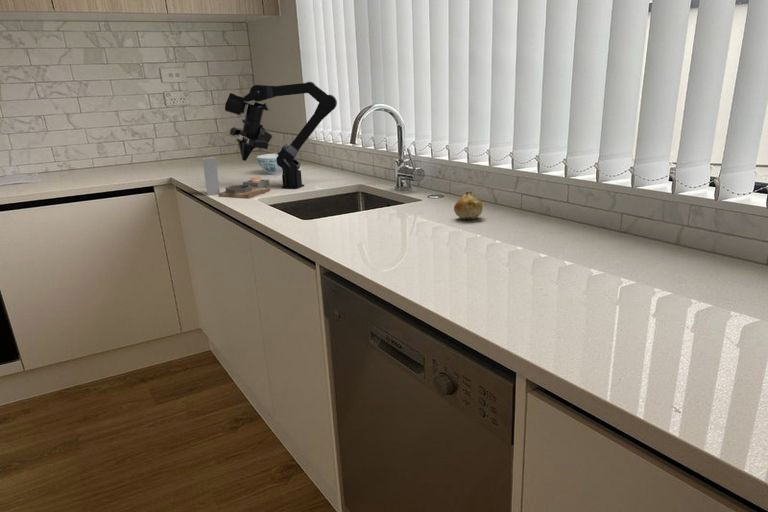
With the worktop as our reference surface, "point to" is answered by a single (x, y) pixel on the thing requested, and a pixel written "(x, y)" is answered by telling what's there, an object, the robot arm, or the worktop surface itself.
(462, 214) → the onion
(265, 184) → the button housing
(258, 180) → the button
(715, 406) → the worktop surface
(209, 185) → the billet
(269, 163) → the chinaware
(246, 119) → the robot arm
